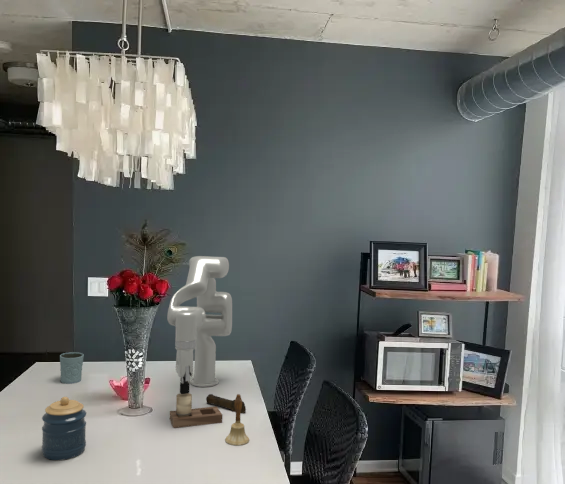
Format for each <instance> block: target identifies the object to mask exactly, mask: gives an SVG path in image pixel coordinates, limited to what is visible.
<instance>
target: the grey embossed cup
mask: <svg viewBox="0 0 565 484" xmlns="http://www.w3.org/2000/svg"><path fill="white" fill-rule="evenodd" d="M84 357H85V356H84V353H83V352H78V351H77V352H76V351H75V352H74V351H72V352H71V351H70V352H65V353H64V352H63V353H61V354H60V355H59V364H60V365H59V366H60V383H61V384H65V385H66V384H67V385H70V384H71V385H72V384H77V383H80V382H81V380H82V375H83V374H82V373H83V372H82V371H83V365H84V364H83V363H84Z"/></svg>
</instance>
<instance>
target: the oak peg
mask: <svg viewBox="0 0 565 484" xmlns="http://www.w3.org/2000/svg"><path fill="white" fill-rule="evenodd" d="M175 398H176V403H175V404H176V405H175V411H176V414H177V415H178V417H187V416H189V415H190V414H191V413H192V409H193V408H192V406H193V405H192V404H193V401H192V398H193V394H192V393H190V392H189V393H188V394H181V393H180V392H179V393H178V394H176V397H175Z"/></svg>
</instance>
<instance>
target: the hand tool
mask: <svg viewBox="0 0 565 484" xmlns="http://www.w3.org/2000/svg"><path fill="white" fill-rule="evenodd" d="M205 400H206V404H208V405H213V406H214V405H215V406H217V407H218V406H219V407H221V408H226V409H229V410H231V411H232V412H234V413H236V411H235V399H233V400H232V399H227V398H224V397H220V396H217V395H214V394H213V393H209V394H208V395H207V396H206V398H205ZM246 410H247V409H246V405H245V402H244V401H243V400H242V409H241V412H240V414H246Z"/></svg>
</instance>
